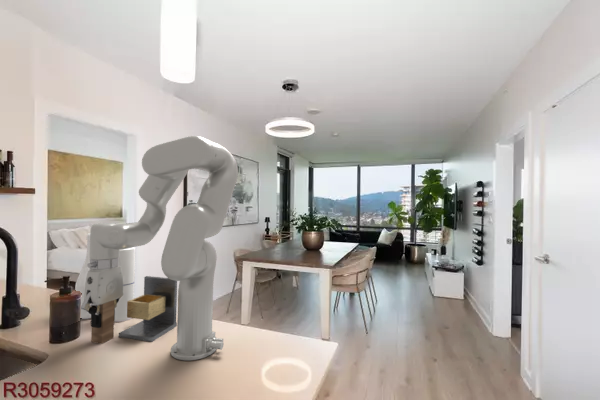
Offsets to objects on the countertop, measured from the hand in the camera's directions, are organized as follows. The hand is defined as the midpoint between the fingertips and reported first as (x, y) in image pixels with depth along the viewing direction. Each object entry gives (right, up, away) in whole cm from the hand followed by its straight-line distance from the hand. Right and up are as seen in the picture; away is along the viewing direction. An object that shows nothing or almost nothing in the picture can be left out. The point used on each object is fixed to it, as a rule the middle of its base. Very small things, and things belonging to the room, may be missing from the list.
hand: (102, 323), depth 92 cm
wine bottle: (-17, -5, +19) cm, 26 cm away
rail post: (0, -5, 0) cm, 5 cm away
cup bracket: (+11, -5, +7) cm, 14 cm away
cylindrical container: (-4, -5, +17) cm, 19 cm away
